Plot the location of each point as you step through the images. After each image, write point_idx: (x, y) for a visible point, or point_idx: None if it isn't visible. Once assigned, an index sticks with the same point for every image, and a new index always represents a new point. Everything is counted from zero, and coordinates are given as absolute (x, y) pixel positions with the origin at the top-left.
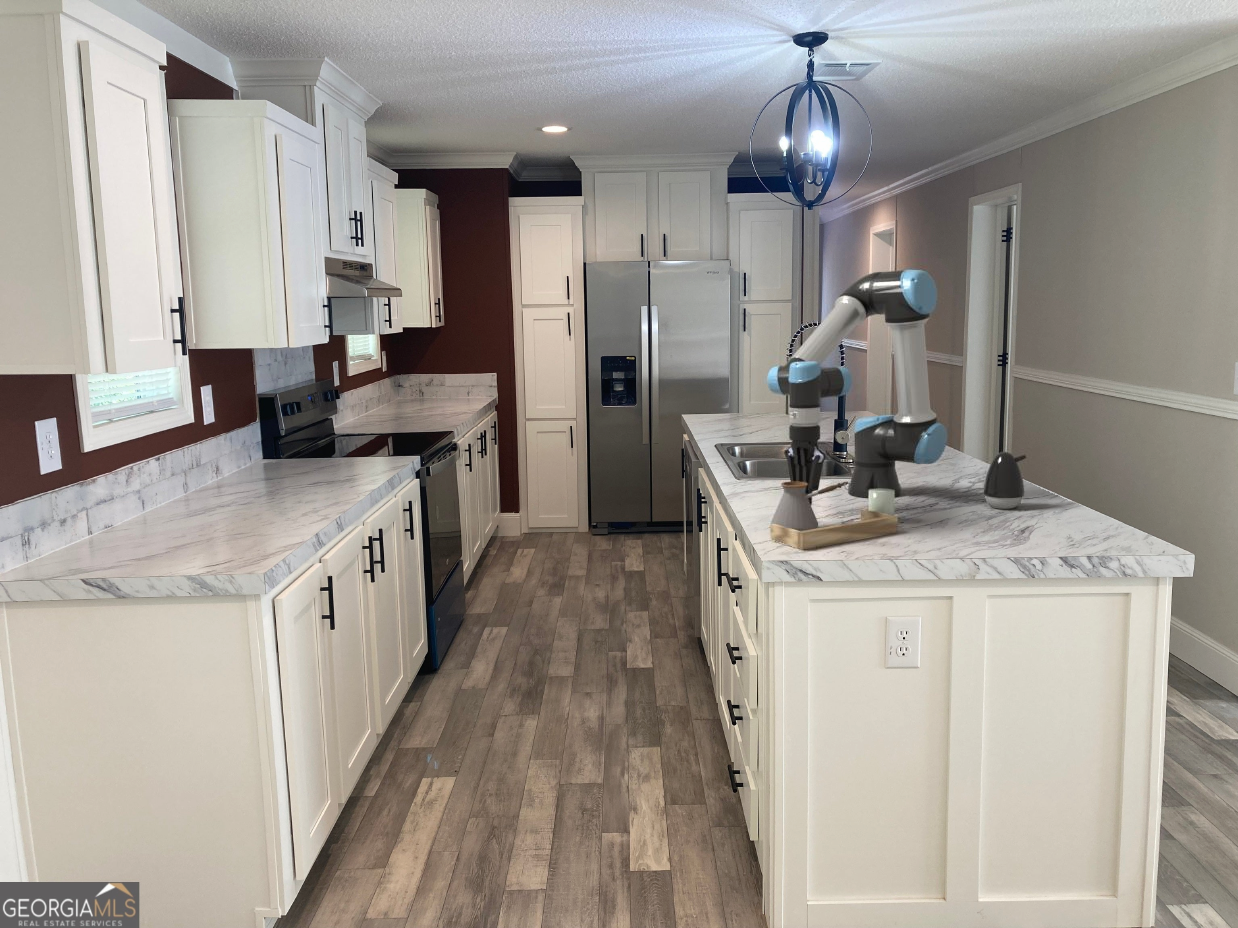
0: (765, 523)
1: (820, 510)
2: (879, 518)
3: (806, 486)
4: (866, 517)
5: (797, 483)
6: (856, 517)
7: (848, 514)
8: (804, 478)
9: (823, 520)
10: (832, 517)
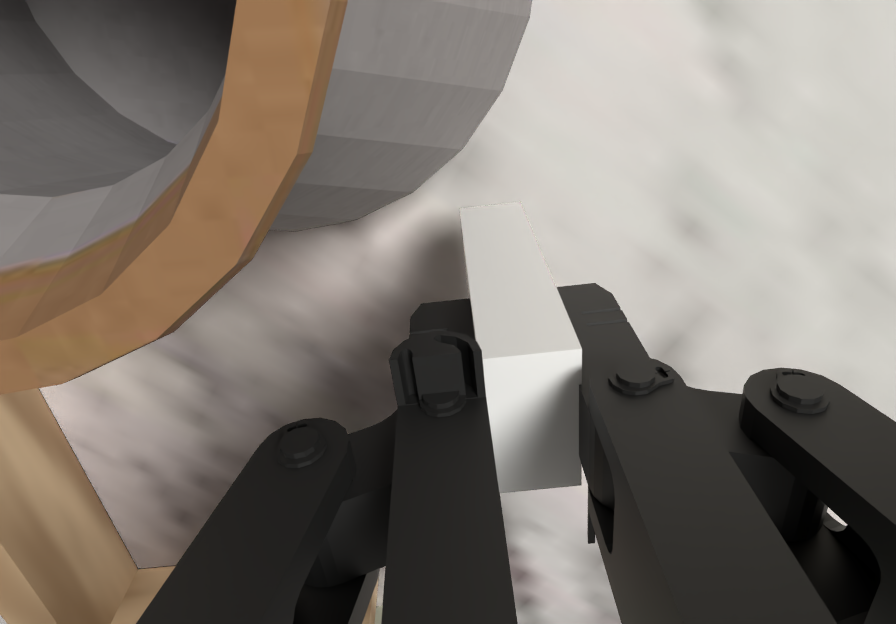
0: (874, 8)
1: None
2: (16, 595)
3: (395, 476)
4: None
5: (140, 227)
6: (547, 609)
7: None
8: (444, 620)
9: None
10: None
